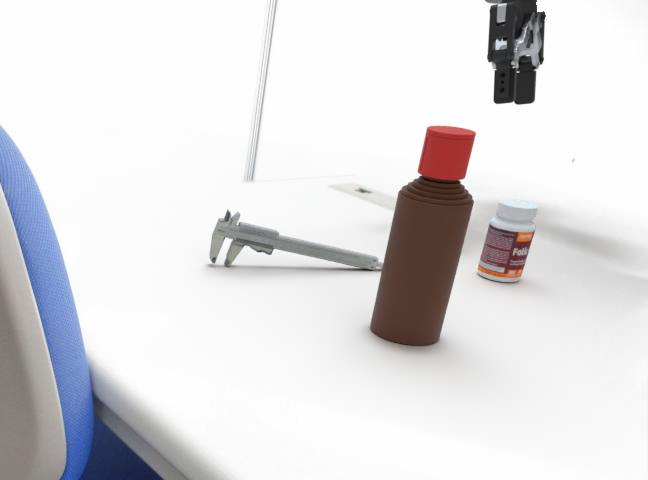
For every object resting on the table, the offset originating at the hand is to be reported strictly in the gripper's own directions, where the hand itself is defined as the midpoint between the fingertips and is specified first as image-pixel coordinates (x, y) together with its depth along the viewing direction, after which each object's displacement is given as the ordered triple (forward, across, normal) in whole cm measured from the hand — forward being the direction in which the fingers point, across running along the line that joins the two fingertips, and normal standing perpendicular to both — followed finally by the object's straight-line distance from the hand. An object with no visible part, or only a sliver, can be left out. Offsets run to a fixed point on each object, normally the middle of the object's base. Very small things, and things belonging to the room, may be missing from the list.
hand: (514, 103), depth 102 cm
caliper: (+16, -24, +16) cm, 33 cm away
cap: (+6, -35, -3) cm, 36 cm away
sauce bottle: (+21, -34, 0) cm, 40 cm away
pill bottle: (+19, -9, -2) cm, 21 cm away
